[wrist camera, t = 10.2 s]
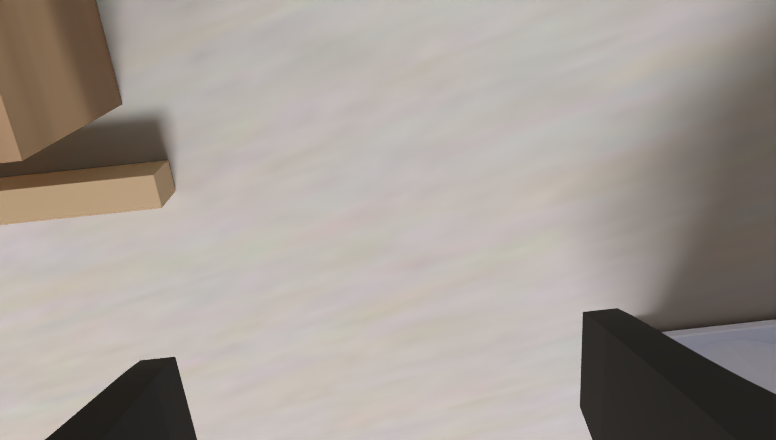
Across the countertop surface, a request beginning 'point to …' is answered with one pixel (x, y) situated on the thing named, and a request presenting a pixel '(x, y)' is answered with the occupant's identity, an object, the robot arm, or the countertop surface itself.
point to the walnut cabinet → (51, 73)
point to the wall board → (85, 192)
